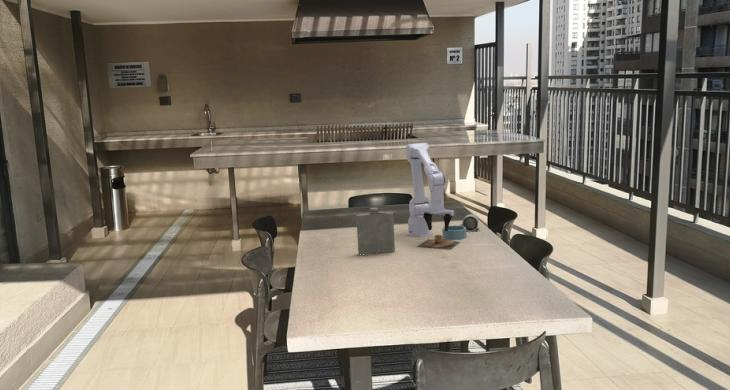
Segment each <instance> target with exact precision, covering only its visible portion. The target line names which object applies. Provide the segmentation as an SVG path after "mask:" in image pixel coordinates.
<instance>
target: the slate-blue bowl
mask: <svg viewBox="0 0 730 390" xmlns="http://www.w3.org/2000/svg"><path fill="white" fill-rule="evenodd" d="M441 232H442V233H441V235H442V239H447V240H451V241H458V240H459V241H460V240H463V239H466V238H467V231H466V227H464V226H459V225H449V227H448V231H445V226H443V227H442V228H441Z"/></svg>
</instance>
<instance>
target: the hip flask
mask: <svg viewBox="0 0 730 390" xmlns="http://www.w3.org/2000/svg"><path fill="white" fill-rule="evenodd" d="M369 210H370V212H369V213H359V214H356V215H355V218H356V232H357V233H356V234H357V235H356V237H357V251H358V254H361V255H362V256H364V255H363V254H371V255H377V254H384V253H385V254H391V253H395V252H396V250H395V249H396V244H395V226H394V225H395V223H394V222H395V221H394V212H392V211H391V212H390V211H387V212H386V211H379V207H370V209H369ZM376 253H377V254H376ZM358 254H357V255H358ZM361 255H360V256H361Z"/></svg>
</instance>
